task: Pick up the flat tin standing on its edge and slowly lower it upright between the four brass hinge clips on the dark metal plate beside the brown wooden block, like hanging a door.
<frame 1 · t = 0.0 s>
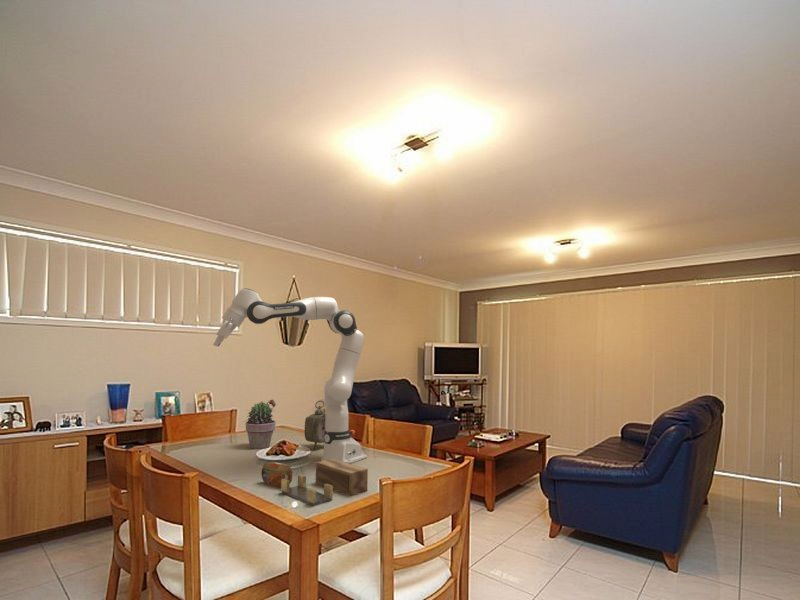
hand: (215, 345, 203), 54 cm above the table, tool tilted 30°, fingers open, 8 cm apart
brown wooden block: (340, 486, 175), on the table
tin: (276, 485, 177), on the table
potted plant: (258, 447, 242), on the table
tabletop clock: (318, 448, 241), on the table
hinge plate: (306, 496, 163), on the table
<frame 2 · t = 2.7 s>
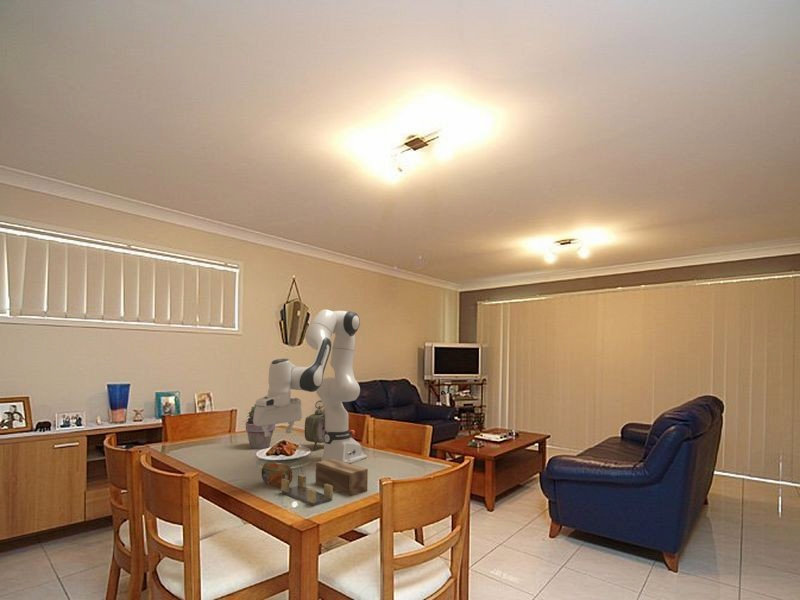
hand: (277, 434, 179), 19 cm above the table, tool pointing down, fingers open, 8 cm apart
nothing on the table moved.
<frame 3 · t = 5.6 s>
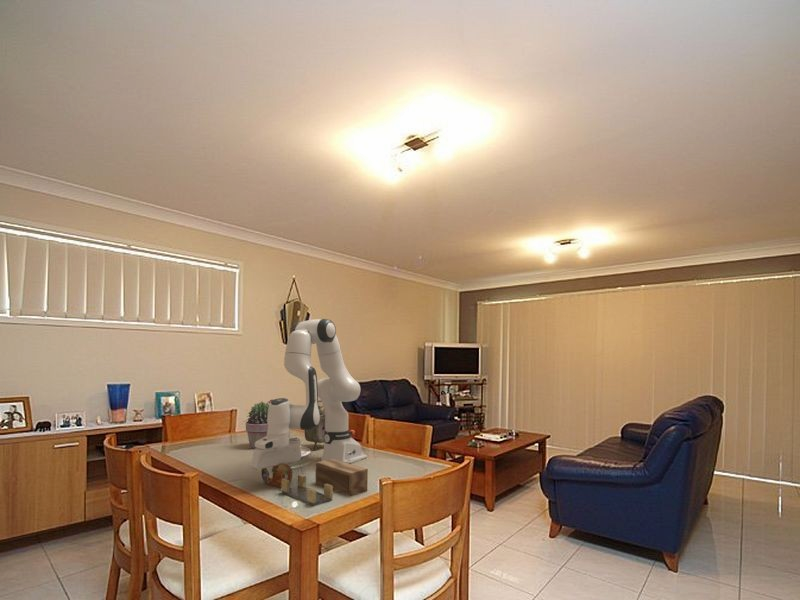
hand: (276, 476, 177), 3 cm above the table, tool pointing down, fingers closed on tin, 3 cm apart
tin: (276, 485, 177), on the table, touching gripper
everything else where it was.
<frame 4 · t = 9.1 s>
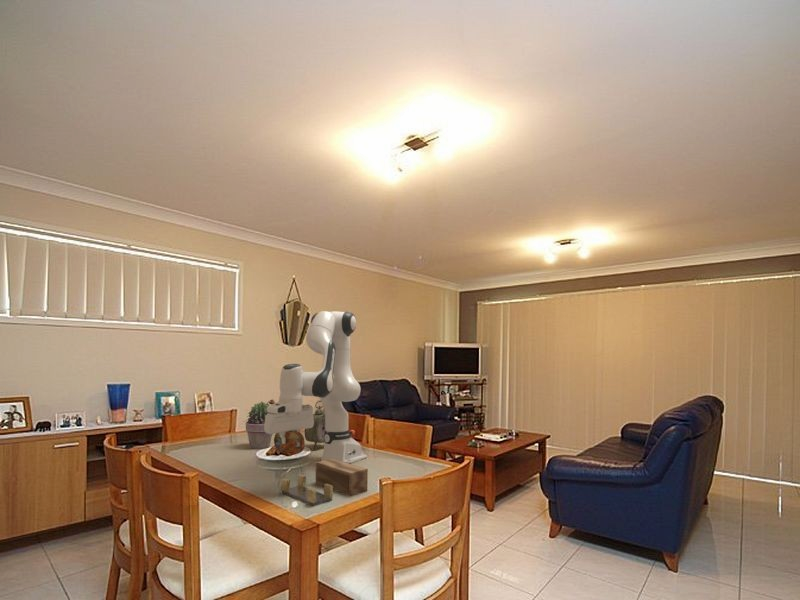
hand: (289, 442, 173), 17 cm above the table, tool pointing down, fingers closed on tin, 3 cm apart
tin: (289, 453, 173), point 13 cm above the table, touching gripper
everything else where it was.
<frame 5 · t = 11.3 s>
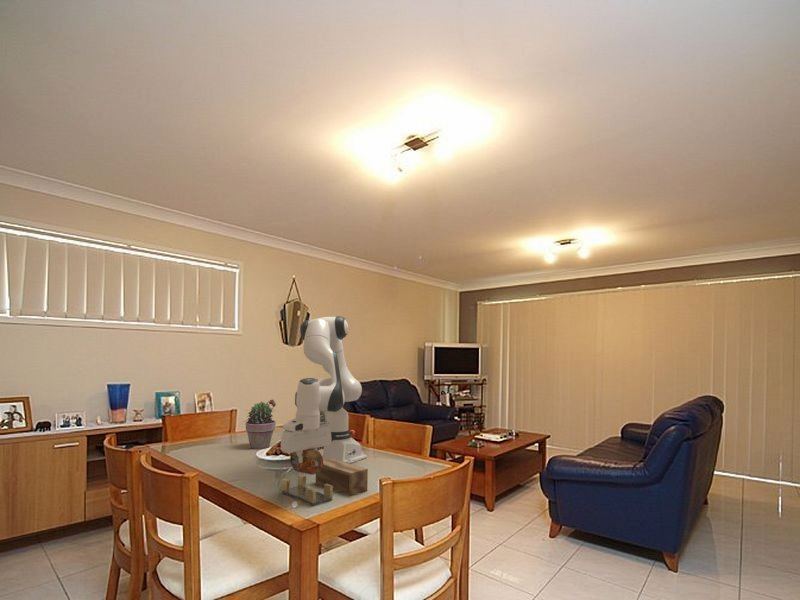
hand: (306, 461, 165), 12 cm above the table, tool pointing down, fingers closed on tin, 3 cm apart
tin: (307, 472, 165), point 8 cm above the table, touching gripper
everything else where it was.
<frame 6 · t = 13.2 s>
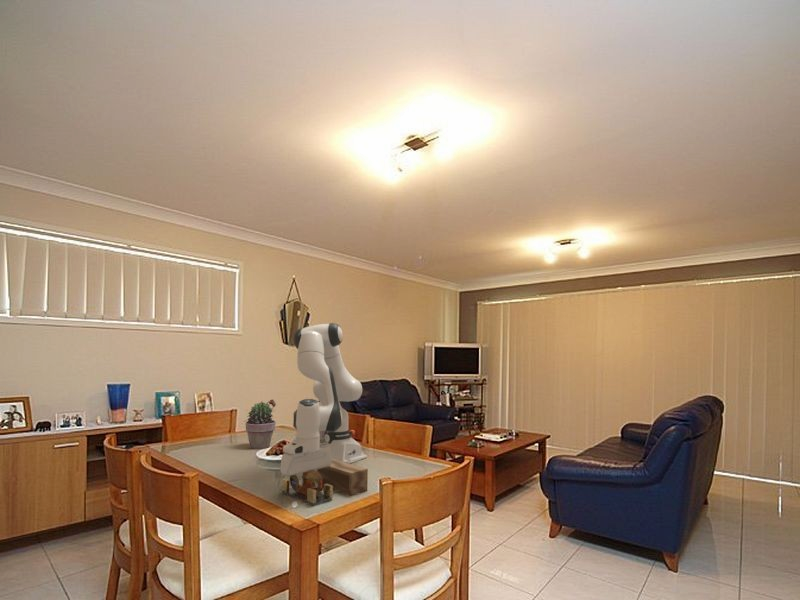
hand: (306, 483, 164), 4 cm above the table, tool pointing down, fingers closed on tin, 3 cm apart
tin: (307, 493, 164), point 1 cm above the table, touching gripper, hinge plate
everything else where it was.
when the fingers open (4 cm above the table, at t = 13.4 s): tin stays where it is, resting on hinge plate.
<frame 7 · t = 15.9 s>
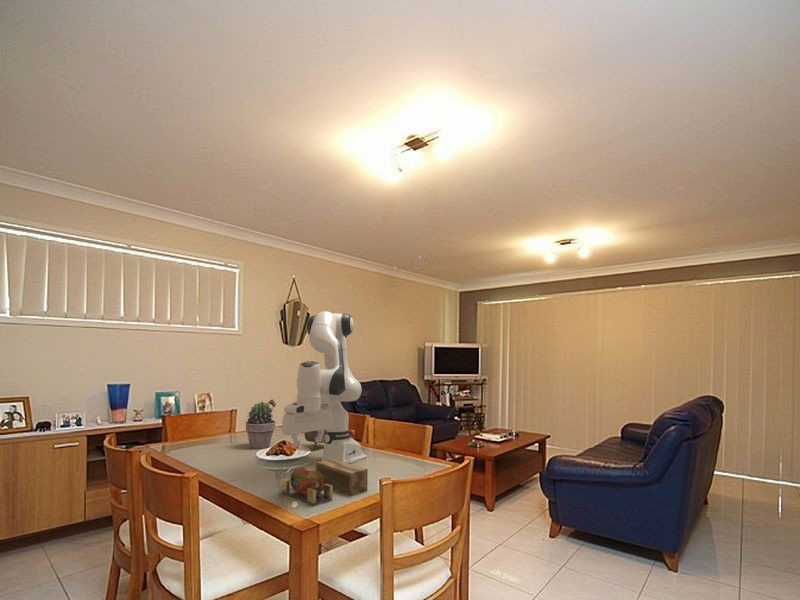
hand: (307, 444, 165), 19 cm above the table, tool pointing down, fingers open, 8 cm apart
tin: (307, 493, 164), point 1 cm above the table, touching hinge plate
everything else where it was.
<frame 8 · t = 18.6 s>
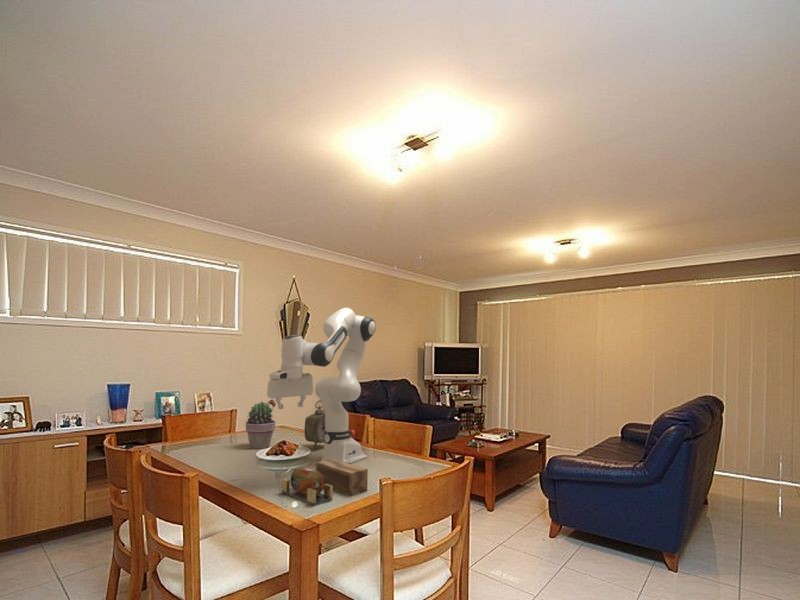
hand: (290, 407, 185), 29 cm above the table, tool pointing down, fingers open, 8 cm apart
nothing on the table moved.
at the end: tin 0.5 cm from the target spot, point 0.8 cm above the table; tin tilted 0°; tin touching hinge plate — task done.
